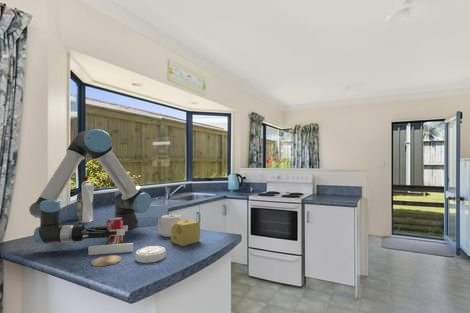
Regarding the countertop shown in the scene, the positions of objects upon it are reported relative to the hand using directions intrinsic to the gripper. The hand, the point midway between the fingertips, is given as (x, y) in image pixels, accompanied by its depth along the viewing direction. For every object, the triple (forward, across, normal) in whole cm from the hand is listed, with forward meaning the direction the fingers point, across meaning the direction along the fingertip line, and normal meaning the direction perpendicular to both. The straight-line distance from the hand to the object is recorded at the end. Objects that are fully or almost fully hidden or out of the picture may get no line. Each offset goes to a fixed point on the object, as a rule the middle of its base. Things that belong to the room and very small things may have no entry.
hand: (126, 230), depth 130 cm
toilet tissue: (+20, -14, -7) cm, 26 cm away
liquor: (-42, -74, -7) cm, 86 cm away
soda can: (-5, 0, -7) cm, 9 cm away
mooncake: (+14, +20, -8) cm, 26 cm away
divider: (-4, +10, -7) cm, 13 cm away
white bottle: (-36, -60, -8) cm, 71 cm away
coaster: (-3, +21, -7) cm, 22 cm away
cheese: (+28, +2, -8) cm, 29 cm away
